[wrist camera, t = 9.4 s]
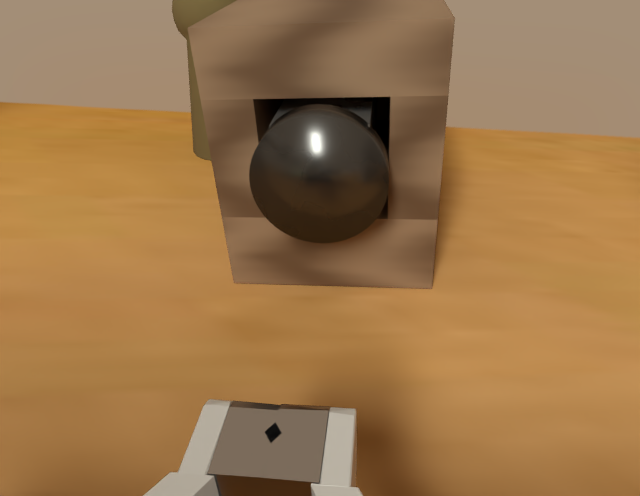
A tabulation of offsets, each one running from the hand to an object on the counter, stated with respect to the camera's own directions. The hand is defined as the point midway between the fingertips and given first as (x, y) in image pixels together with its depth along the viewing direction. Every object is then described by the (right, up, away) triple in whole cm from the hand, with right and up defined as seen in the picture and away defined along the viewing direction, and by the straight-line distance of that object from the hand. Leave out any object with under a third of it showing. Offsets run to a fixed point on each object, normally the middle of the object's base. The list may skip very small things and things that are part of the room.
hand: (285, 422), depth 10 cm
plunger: (+1, +7, +14) cm, 16 cm away
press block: (+2, +5, +18) cm, 18 cm away
